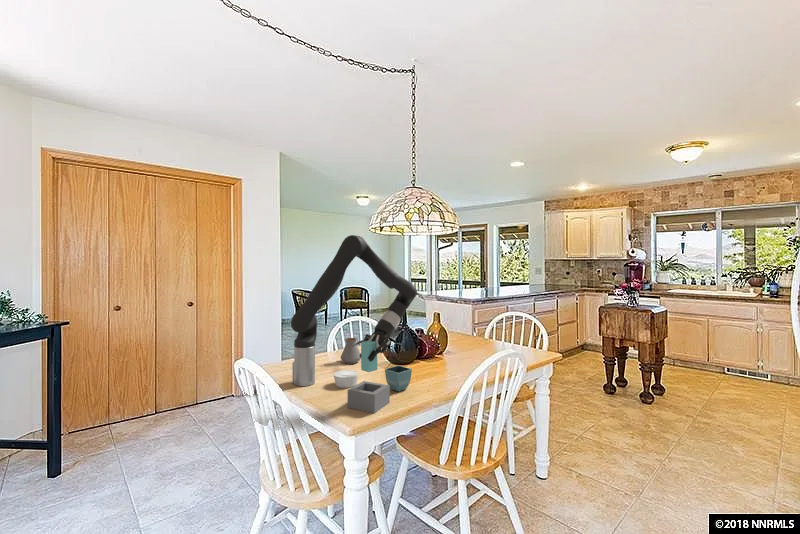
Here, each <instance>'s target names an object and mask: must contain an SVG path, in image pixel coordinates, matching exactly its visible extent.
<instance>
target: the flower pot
mask: <svg viewBox="0 0 800 534" xmlns="http://www.w3.org/2000/svg"><path fill="white" fill-rule="evenodd" d="M412 372H413V371H412V368H410V367H406V366H402V365H395V366H391V367H387V368H385V369H384V374H385V380H386V383H387V384H386V385H390V390H393V391H396V392H401V391H403V390H406V389H407V388H408V387H409V385H410V382H411V379H412Z"/></svg>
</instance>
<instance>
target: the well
mask: <svg viewBox="0 0 800 534" xmlns="http://www.w3.org/2000/svg"><path fill="white" fill-rule="evenodd" d="M390 391H391V389H390V385H388V384H386V383H385V384H384V383H377V382H372V381H366V380H363V381H361V382H358V384H356V385H355V386H353V387H349V388H348V389H347V405H346V406H347V409H351V408H352V409H351V410H356V411H357V410H358V411H360V412H361V411H362V412H367V413H372V414H376V413H377V412H379V411H380V410H381V409H383V408H384V407H386V406H388V404H390V400H391V399H390V398H391V397H390V395H391V394H390Z"/></svg>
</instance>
